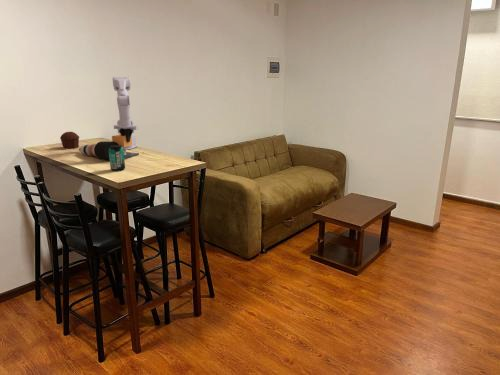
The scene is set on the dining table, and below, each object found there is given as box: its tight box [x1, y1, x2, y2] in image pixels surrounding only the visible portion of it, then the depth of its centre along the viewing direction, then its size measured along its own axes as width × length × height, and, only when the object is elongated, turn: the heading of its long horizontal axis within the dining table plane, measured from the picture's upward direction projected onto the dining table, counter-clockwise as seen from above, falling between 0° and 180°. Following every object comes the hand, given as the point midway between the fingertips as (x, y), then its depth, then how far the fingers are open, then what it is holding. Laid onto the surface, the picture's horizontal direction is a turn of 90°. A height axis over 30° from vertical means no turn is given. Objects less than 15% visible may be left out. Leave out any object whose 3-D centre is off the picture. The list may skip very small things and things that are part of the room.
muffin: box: [59, 131, 80, 150], centre depth 251 cm, size 12×11×10 cm
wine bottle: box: [78, 140, 119, 161], centre depth 226 cm, size 10×34×10 cm, turn 49°
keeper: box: [123, 149, 139, 160], centre depth 227 cm, size 14×11×4 cm
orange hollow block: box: [111, 133, 132, 147], centre depth 225 cm, size 8×8×6 cm
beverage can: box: [109, 145, 126, 172], centre depth 196 cm, size 7×7×12 cm
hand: (127, 142), depth 224 cm, fingers closed on orange hollow block
